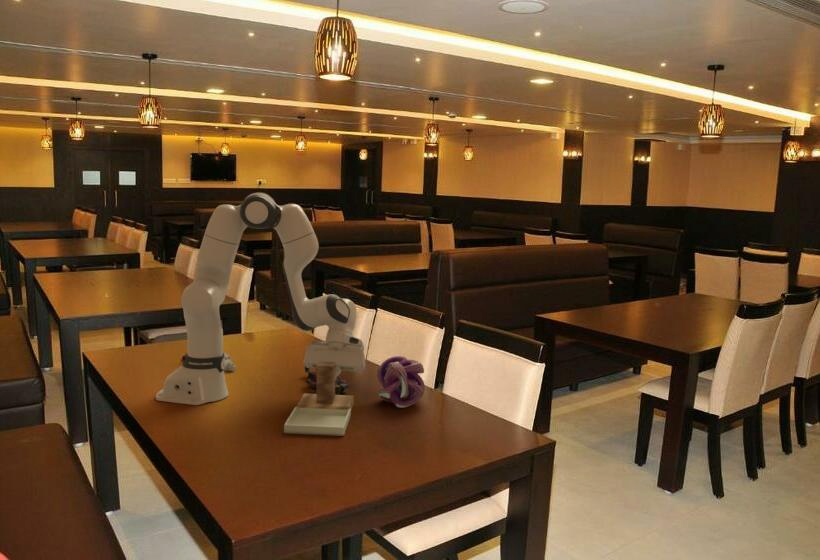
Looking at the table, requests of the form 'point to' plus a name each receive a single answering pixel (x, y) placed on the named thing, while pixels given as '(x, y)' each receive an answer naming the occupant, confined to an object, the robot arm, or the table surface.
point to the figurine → (339, 383)
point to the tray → (317, 421)
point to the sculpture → (401, 381)
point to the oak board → (339, 403)
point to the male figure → (228, 363)
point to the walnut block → (325, 382)
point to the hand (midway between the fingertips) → (330, 380)
